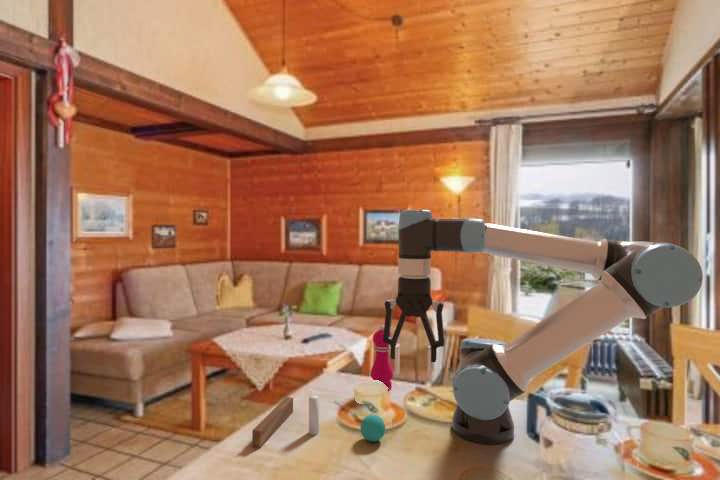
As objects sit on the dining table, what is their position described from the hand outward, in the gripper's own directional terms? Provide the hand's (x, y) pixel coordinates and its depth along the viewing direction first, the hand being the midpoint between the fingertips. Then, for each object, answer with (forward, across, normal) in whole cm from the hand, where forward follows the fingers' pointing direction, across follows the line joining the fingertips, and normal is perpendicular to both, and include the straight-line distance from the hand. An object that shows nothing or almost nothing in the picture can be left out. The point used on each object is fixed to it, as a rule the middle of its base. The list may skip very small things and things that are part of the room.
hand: (413, 373), depth 102 cm
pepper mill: (+17, +14, -34) cm, 40 cm away
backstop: (+17, +35, 0) cm, 39 cm away
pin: (+17, +24, 0) cm, 30 cm away
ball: (+14, +10, 0) cm, 17 cm away
